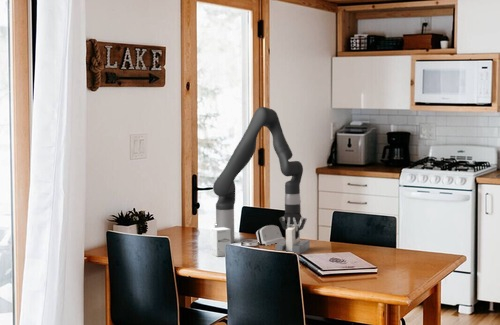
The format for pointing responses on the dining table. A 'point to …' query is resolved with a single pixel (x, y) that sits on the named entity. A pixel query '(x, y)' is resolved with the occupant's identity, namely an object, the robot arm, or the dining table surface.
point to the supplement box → (219, 240)
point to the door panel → (291, 237)
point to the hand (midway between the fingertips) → (293, 238)
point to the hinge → (269, 235)
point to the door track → (294, 246)
